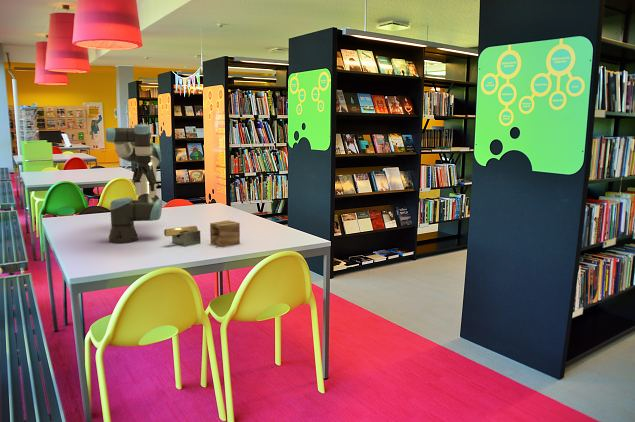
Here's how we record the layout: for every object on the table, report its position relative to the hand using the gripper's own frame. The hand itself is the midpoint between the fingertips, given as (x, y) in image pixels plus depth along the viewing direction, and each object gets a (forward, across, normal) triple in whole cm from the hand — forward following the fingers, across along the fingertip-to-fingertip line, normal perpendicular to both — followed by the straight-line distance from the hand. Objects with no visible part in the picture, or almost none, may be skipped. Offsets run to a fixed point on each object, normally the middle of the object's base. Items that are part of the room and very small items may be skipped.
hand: (144, 196), depth 258 cm
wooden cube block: (+27, -25, -32) cm, 49 cm away
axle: (+22, -8, -16) cm, 28 cm away
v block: (+27, -8, -18) cm, 33 cm away
